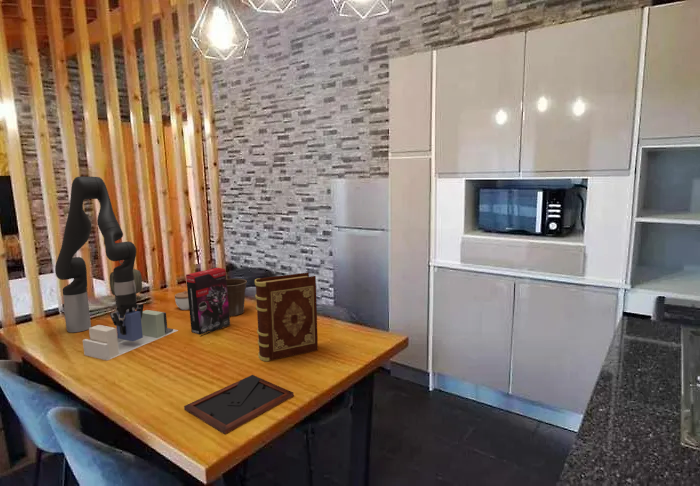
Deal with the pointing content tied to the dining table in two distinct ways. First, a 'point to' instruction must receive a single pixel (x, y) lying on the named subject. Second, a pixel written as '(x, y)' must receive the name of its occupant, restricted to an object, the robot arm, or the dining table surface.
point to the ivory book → (105, 337)
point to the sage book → (153, 323)
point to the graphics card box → (208, 300)
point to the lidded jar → (182, 300)
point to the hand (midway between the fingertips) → (129, 332)
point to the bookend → (166, 324)
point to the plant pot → (236, 295)
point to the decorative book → (286, 315)
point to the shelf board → (124, 346)
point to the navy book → (131, 327)
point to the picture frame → (238, 403)
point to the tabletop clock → (136, 279)
